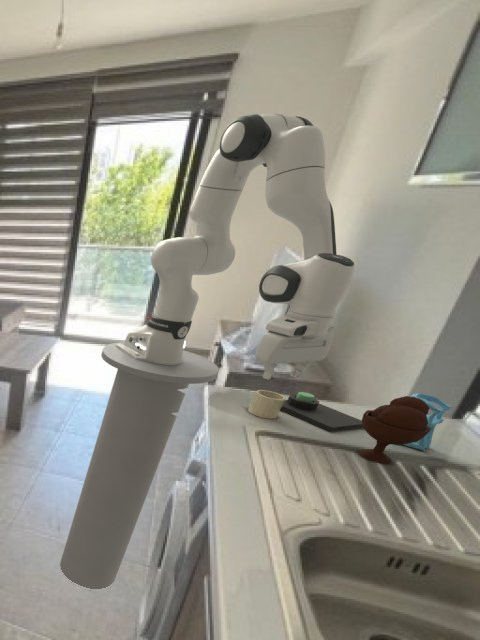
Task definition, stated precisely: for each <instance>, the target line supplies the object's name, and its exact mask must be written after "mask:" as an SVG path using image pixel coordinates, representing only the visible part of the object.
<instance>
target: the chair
mask: <svg viewBox="0 0 480 640" xmlns="http://www.w3.org/2000/svg"><path fill="white" fill-rule="evenodd" d="M410 397H416V398H420V399H421V400H423V401H425V403H426V404H427V405H428V407H429V410H430V411H432V412H433V413H432V414H427V415H426V416H427V420H428V425H427V426H428V427H430V428H432V429H431V430H430V431H429V433H428V434H427V435H426V436H425V437H424V438H422V439H420V440H419V441H417V442H413V443H409V444H402V445H403V446H406V447H410V448H413V449H416V450H419V451H425V450H426V449H430V447H431V444H432V439H433V436H434V432H435V428H436V426H437V425H440V424H442V423H443V422H444V421H445V419H444V418H442V417H443V415H444V414H445V413H446V412H447V411H448V410H450V409H451V408H453V406H451V405H449V404H447V403H445V402H444V401H443V400H441V399H440V398H438V397H436V396H434V395H428V394H423V393H413V394H412V395H410ZM433 403H435V404H437V405H438V406H440V407H441V408H442V409H440V408H438V407H437V406H436V405H435V404H433Z"/></svg>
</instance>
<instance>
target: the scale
mask: <svg viewBox="0 0 480 640" xmlns="http://www.w3.org/2000/svg"><path fill="white" fill-rule="evenodd" d="M297 394H298V393H292V394H291V393H290V394H289V396H288V398H287V399H285V401H284V403H283V405H282V408H281V410H280V411H283V412H285V414H286V413H287V414H289V415H291V416H293V417H295V418H298V419H300V420H302V421H304V422H307V423H309V424H312V425H314V426H316V427H318V428H321V429H322V430H325V431H327V432H329V433H330V432H338V431H347V430H355V429H362V428H363V429H364V427H363V426H362V419H359V418H356V417H355V416H352V415H349V414H347V413H345V412H342V411H339V410H336V409H334V408H331V407H329V406H326V405H324V404H321V403H320V401H319V400H317V399H316V398H314V399H313V401H312V402H305V401H301V400H299V399H296V396H297Z"/></svg>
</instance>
